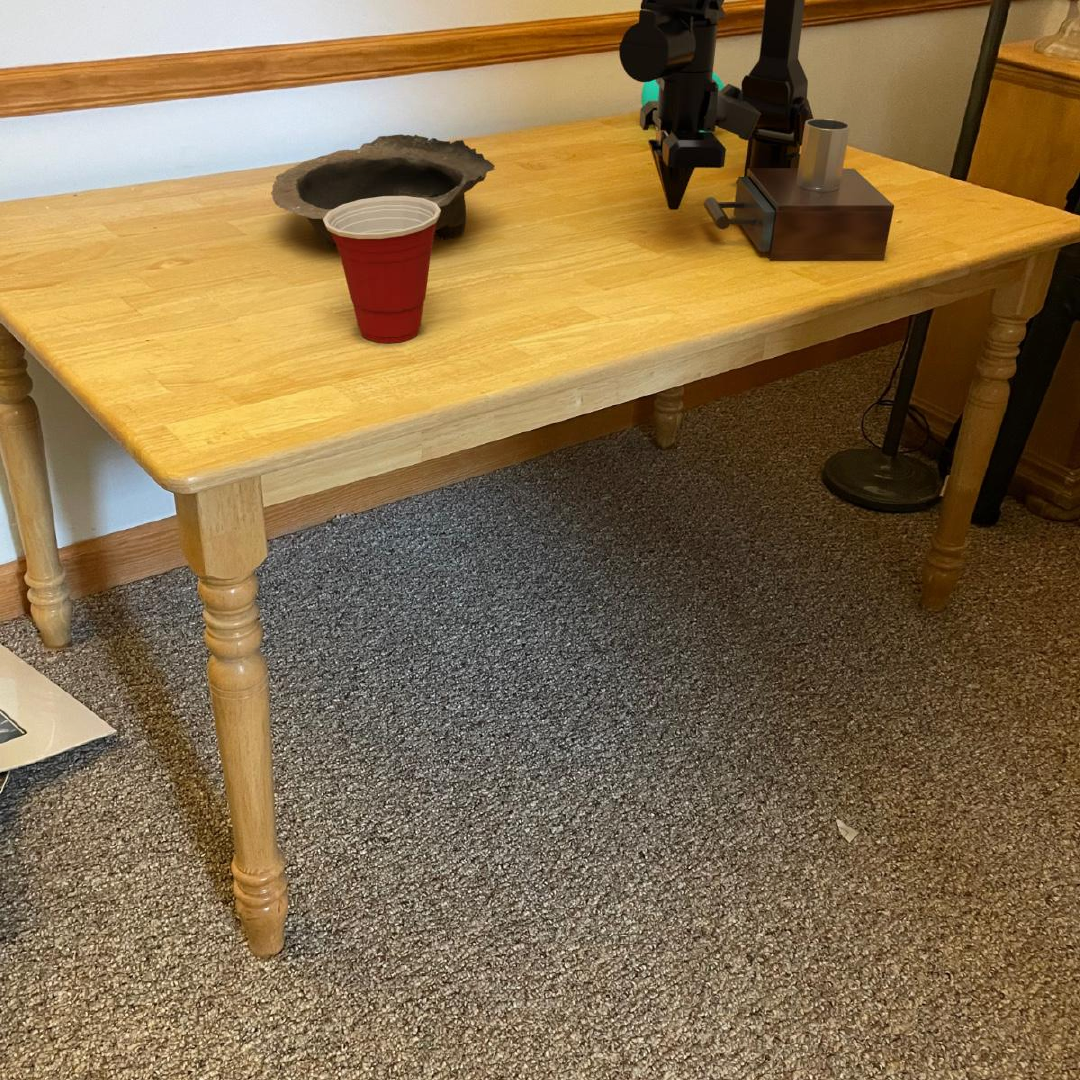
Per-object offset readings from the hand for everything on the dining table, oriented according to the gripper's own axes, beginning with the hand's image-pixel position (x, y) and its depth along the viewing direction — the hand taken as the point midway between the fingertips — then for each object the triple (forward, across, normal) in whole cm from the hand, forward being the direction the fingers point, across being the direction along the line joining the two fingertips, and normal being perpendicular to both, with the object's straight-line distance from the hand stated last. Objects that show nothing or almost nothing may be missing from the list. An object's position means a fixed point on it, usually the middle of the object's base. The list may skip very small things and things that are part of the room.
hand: (673, 208), depth 137 cm
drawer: (+3, 0, -13) cm, 13 cm away
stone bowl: (+4, +2, +34) cm, 34 cm away
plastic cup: (+4, -26, +33) cm, 42 cm away
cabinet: (+4, 0, -17) cm, 17 cm away
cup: (-3, 0, -17) cm, 17 cm away
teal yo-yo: (+4, +48, -11) cm, 50 cm away
